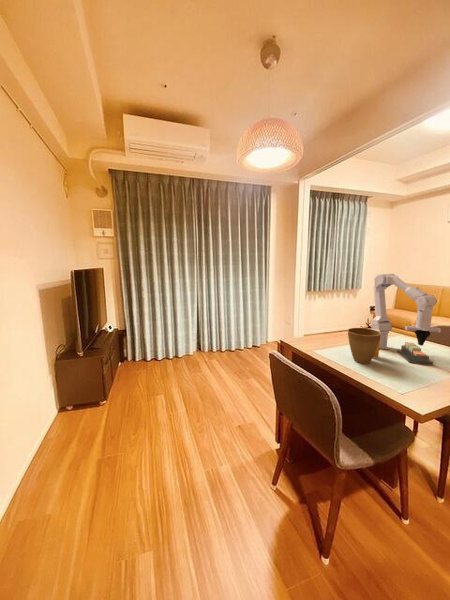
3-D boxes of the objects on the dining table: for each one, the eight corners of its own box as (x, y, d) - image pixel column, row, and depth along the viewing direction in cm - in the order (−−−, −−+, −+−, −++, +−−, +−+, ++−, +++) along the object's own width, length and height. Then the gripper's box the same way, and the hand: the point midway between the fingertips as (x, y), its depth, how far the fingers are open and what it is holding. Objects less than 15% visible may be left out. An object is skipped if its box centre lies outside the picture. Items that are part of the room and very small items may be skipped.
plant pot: (372, 356, 133) (375, 328, 130) (382, 368, 119) (385, 336, 116) (342, 354, 137) (345, 326, 134) (348, 365, 123) (351, 334, 120)
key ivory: (407, 349, 134) (408, 344, 134) (404, 347, 138) (404, 342, 137) (415, 350, 133) (416, 345, 132) (412, 347, 137) (413, 342, 136)
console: (409, 362, 125) (410, 355, 124) (396, 351, 140) (397, 345, 139) (432, 365, 122) (433, 357, 121) (417, 353, 137) (418, 346, 137)
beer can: (380, 358, 130) (382, 331, 127) (367, 358, 131) (370, 331, 129) (375, 354, 136) (378, 328, 133) (363, 353, 137) (366, 328, 134)
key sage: (411, 353, 129) (412, 347, 129) (408, 350, 133) (409, 345, 132) (420, 354, 128) (421, 348, 128) (416, 351, 132) (417, 345, 131)
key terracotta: (415, 359, 124) (416, 353, 124) (412, 356, 128) (413, 351, 128) (425, 360, 123) (426, 354, 123) (421, 357, 127) (422, 351, 127)
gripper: (410, 319, 120) (407, 346, 123) (446, 321, 117) (441, 348, 119) (404, 316, 127) (401, 341, 129) (437, 318, 123) (434, 344, 126)
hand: (420, 344), depth 125 cm, fingers closed
